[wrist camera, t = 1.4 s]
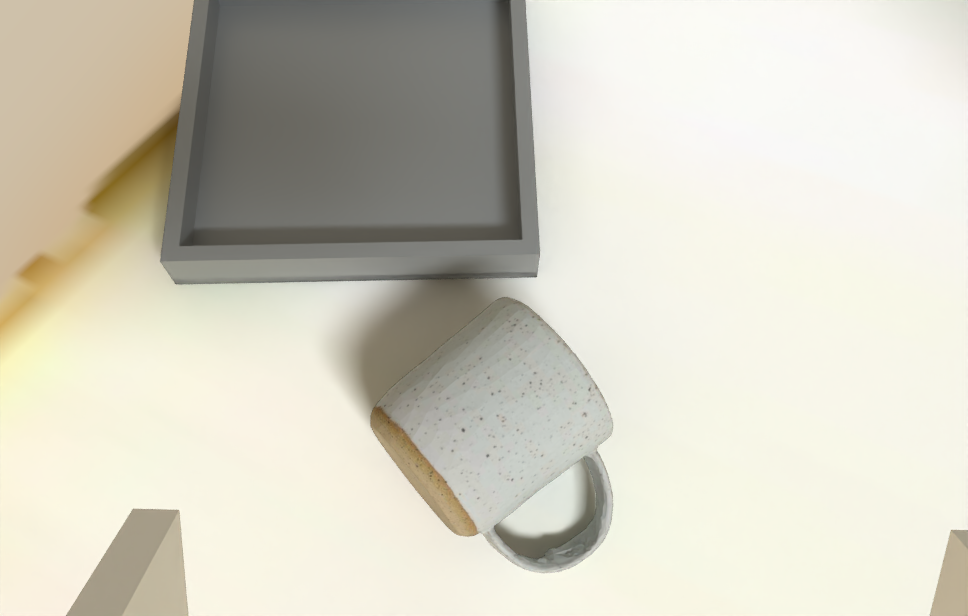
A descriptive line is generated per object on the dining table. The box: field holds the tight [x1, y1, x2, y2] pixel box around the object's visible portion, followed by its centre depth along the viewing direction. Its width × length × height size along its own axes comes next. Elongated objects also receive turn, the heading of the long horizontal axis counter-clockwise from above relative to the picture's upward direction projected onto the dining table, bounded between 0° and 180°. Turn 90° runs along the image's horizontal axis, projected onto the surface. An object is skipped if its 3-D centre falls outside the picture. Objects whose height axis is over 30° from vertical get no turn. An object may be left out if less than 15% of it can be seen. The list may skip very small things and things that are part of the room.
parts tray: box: [160, 0, 540, 284], centre depth 49 cm, size 18×18×2 cm
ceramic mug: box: [371, 297, 613, 573], centre depth 39 cm, size 11×8×8 cm
